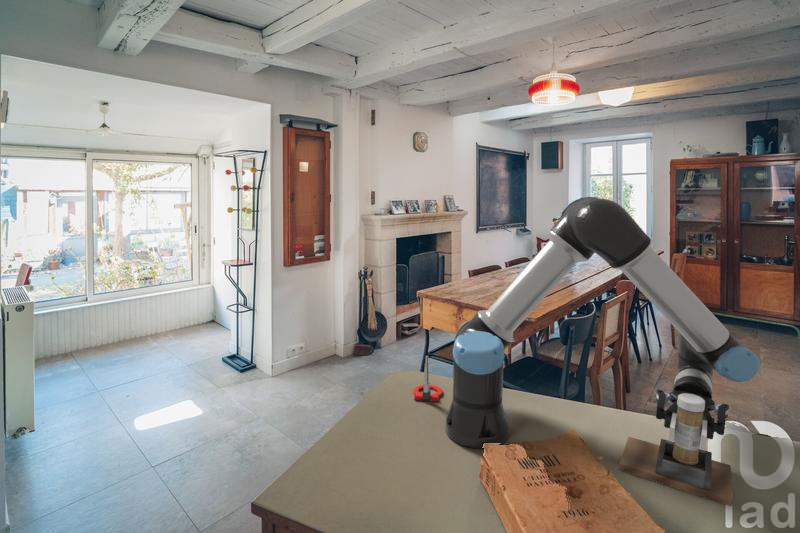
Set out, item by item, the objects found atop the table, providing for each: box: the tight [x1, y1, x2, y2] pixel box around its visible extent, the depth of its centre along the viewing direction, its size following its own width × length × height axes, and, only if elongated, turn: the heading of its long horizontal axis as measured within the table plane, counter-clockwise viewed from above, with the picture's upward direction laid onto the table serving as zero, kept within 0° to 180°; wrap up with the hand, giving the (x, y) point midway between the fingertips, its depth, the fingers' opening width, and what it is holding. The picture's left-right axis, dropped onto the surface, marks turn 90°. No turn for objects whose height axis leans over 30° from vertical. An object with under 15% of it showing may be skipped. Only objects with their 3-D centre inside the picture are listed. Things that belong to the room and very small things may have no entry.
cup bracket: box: [618, 436, 733, 507], centre depth 92 cm, size 19×12×4 cm, turn 55°
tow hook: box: [412, 355, 443, 402], centre depth 126 cm, size 8×13×9 cm
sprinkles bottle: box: [672, 393, 705, 465], centre depth 89 cm, size 5×5×14 cm
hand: (687, 437), depth 84 cm, fingers closed on sprinkles bottle, 4 cm apart
